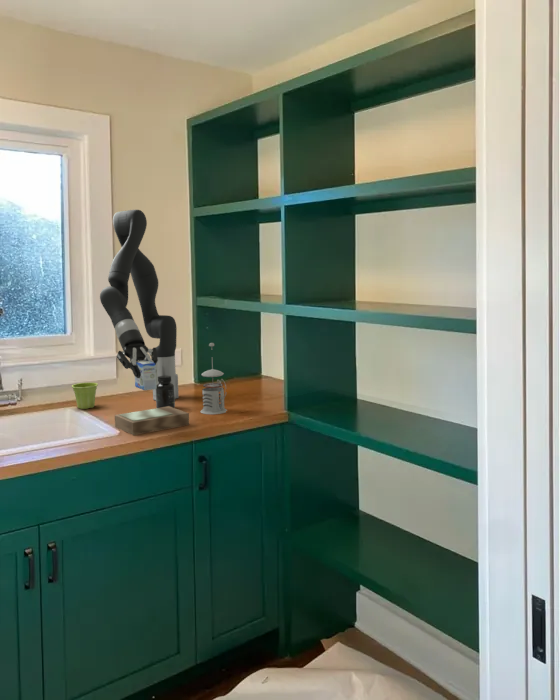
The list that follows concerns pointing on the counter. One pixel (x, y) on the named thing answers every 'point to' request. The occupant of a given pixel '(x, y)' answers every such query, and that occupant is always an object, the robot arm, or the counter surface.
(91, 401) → the plant pot
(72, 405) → the counter surface
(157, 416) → the stand
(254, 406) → the counter surface
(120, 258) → the robot arm
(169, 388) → the supplement bottle
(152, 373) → the medicine box
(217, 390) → the french press
